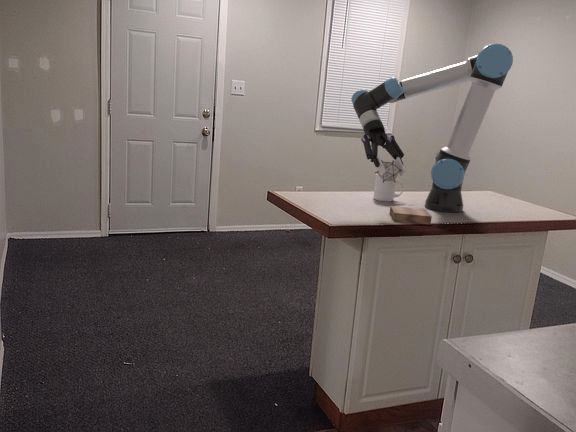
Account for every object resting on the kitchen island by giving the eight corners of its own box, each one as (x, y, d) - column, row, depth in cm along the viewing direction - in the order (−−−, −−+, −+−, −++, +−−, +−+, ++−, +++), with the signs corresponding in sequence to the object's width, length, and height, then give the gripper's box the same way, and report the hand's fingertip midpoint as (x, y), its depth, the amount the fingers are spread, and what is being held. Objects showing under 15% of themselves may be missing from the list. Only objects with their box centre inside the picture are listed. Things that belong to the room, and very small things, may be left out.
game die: (390, 192, 194) (401, 174, 187) (369, 182, 195) (379, 163, 188) (396, 178, 200) (407, 159, 193) (376, 168, 201) (386, 149, 194)
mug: (402, 203, 221) (405, 178, 218) (373, 200, 222) (376, 175, 220) (401, 199, 229) (404, 175, 226) (373, 196, 230) (376, 172, 228)
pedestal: (424, 216, 198) (425, 209, 197) (430, 224, 186) (431, 216, 185) (389, 213, 198) (390, 206, 198) (393, 221, 187) (394, 212, 186)
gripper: (389, 132, 209) (410, 179, 198) (344, 130, 200) (364, 180, 189) (399, 119, 203) (421, 167, 193) (353, 117, 194) (374, 167, 184)
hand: (393, 173), depth 191 cm, fingers closed on game die, 8 cm apart
